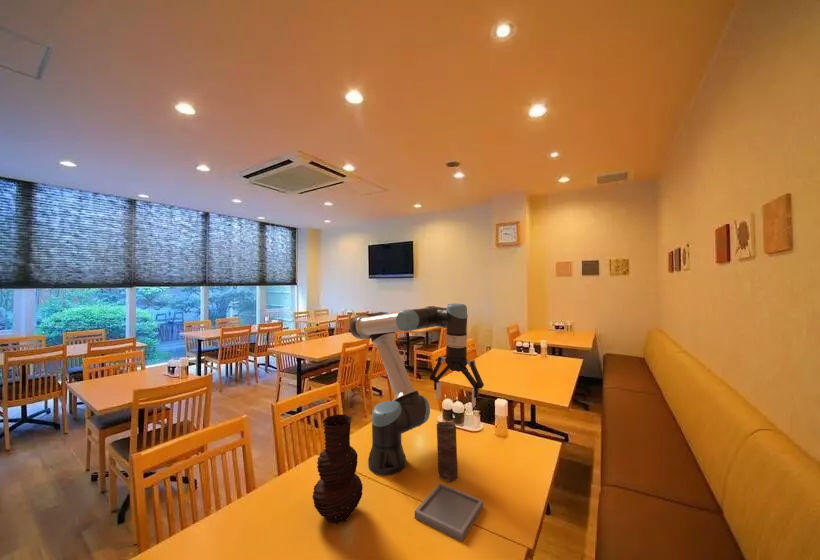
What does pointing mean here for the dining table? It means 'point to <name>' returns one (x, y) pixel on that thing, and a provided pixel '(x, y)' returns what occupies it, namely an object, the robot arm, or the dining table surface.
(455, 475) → the brown cylinder
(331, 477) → the vase
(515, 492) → the dining table surface
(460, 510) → the tray
